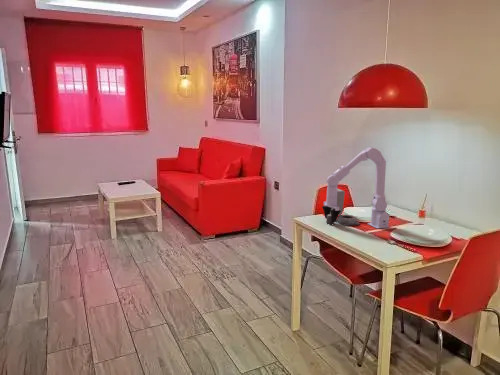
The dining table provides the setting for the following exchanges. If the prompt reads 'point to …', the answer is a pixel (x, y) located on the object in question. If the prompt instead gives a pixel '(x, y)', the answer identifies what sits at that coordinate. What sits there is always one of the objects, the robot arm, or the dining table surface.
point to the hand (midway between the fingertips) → (330, 220)
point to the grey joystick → (347, 220)
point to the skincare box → (340, 200)
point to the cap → (329, 219)
